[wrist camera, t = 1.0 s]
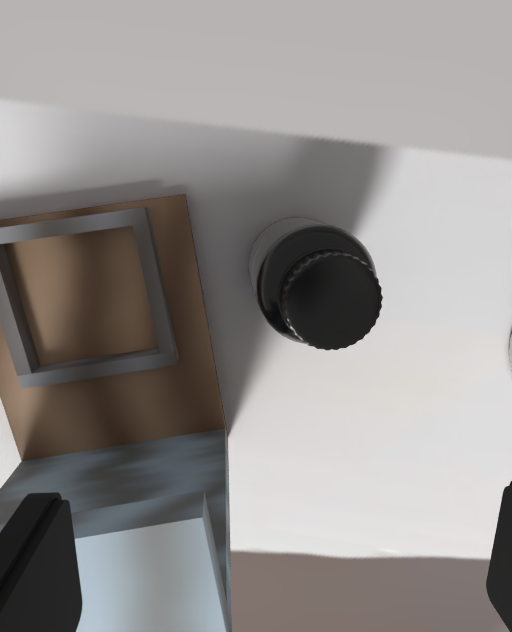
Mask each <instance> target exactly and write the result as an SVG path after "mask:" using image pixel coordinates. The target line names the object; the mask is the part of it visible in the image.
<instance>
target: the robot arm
mask: <svg viewBox="0 0 512 632" xmlns="http://www.w3.org/2000/svg"><path fill="white" fill-rule="evenodd" d="M509 359H510V367H511V370H512V335H511V338H510V347H509ZM486 586H487V587H486V588H487V593H488V596H489V599H490V601H491V603H492V604H493V606H494V608H495V609H496V611H497V612H498V614H499V615H500V617H501V618H502V620H503V621H504V623H505V625H506V626H507V628H508V629H509V631H510V632H512V481H511V482H510V485H509V486H507V487H506V488H505V489H504V491H503V496H502V502H501V507H500V512H499V518H498V523H497V528H496V533H495V539H494V544H493V549H492V555H491V560H490V566H489V571H488V576H487V581H486ZM81 613H82V593H81V585H80V577H79V570H78V562H77V554H76V546H75V539H74V531H73V523H72V515H71V508H70V502H69V501H68V500H62V497H61V495H60V493H58V492H50V493H30V494H28V495H27V496H26V497H25V498H24V499H23V501H22V502H21V503H20V505H19V506H18V508H17V509H16V511H15V512H14V513H13V515H12V516H11V518H10V519H9V520H8V522H7V523H6V525H5V526H4V528H3V529H2V530H1V532H0V632H76V630H77V627H78V624H79V621H80V618H81Z"/></svg>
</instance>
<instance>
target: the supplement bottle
mask: <svg viewBox="0 0 512 632" xmlns="http://www.w3.org/2000/svg"><path fill="white" fill-rule="evenodd" d="M249 273H250V278H251V282H252V285H253V288H254V292H255V295H256V298H257V301H258V304H259V307H260V309H261V311H262V313H263V315H264V317H265V318H266V320H267V321H268V323H269V324H270V325H271V326H272V327H273V328H274V329H275V330H276V331H277V332H278V333H280V334H281V335H283V336H284V337H286V338H288V339H290V340H293V341H295V342H299V343H303V344H308V345H309V346H315V347H316V348H317V349H325V350H330V349H334V350H338V349H339V348H346V347H348V346H349V345H353V344H355V343H356V342H357V341H358V340H361V339H363V338H364V336H365V335H366V334H368V333H369V332H370V330H371V328H372V327H373V326H374V325H375V323H376V320H377V318H378V317H379V311H380V309H381V308H382V304H381V301H382V298H383V297H382V295H381V287H380V285H379V281H378V278H377V276H376V270H375V266H374V263H373V260H372V258H371V256H370V254H369V252H368V251H367V249H366V248H365V246H364V245H363V244H362V243H361V242H360V241H359V240H358V239H357V238H355V237H354V236H353V235H351V234H350V233H348V232H346V231H344V230H342V229H340V228H337V227H334V226H331V225H328V224H324V223H321V222H317V221H314V220H310V219H306V218H287V219H283V220H280V221H278V222H276V223H274V224H272V225H270V226H269V227H268V228H266V229H265V230H264V231H263V232H262V233H261V234H260V235H259V237H258V238H257V239H256V241H255V243H254V245H253V247H252V250H251V253H250V257H249Z"/></svg>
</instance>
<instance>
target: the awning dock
mask: <svg viewBox="0 0 512 632" xmlns="http://www.w3.org/2000/svg"><path fill="white" fill-rule="evenodd" d="M0 397H1V400H2V403H3V406H4V409H5V412H6V415H7V418H8V421H9V424H10V427H11V430H12V433H13V436H14V439H15V442H16V445H17V448H18V451H19V454H20V457H21V460H22V462H21V463H20V464H19V466H18V467H17V468H16V469H15V471H14V472H13V473H12V475H11V476H10V477H9V478H8V480H7V481H6V482H5V484H4V485H3V486H2V487H1V489H0V532H1V530H2V529H3V528H4V526H5V525H6V523H7V522H8V520H9V519H10V518H11V516H12V515H13V513H14V512H15V511H16V509H17V508H18V506H19V505H20V503H21V502H22V501H23V499H24V498H25V497H26V496H27V495H28V494H30V493H50V492H58V493H60V495H61V497H62V500H68V501H69V502H70V508H71V515H72V523H73V531H74V539H75V546H76V554H77V562H78V570H79V577H80V585H81V593H82V613H81V618H80V621H79V624H78V627H77V630H76V632H232V618H231V568H230V567H231V565H230V515H229V465H228V436H227V430H226V424H225V418H224V413H223V407H222V401H221V395H220V390H219V384H218V378H217V373H216V367H215V361H214V355H213V350H212V344H211V338H210V333H209V327H208V321H207V315H206V310H205V304H204V298H203V293H202V287H201V281H200V275H199V270H198V264H197V258H196V253H195V247H194V241H193V235H192V230H191V224H190V218H189V212H188V207H187V201H186V195H185V194H183V195H176V196H169V197H161V198H154V199H147V200H140V201H133V202H126V203H119V204H111V205H104V206H97V207H90V208H83V209H76V210H69V211H61V212H54V213H47V214H40V215H33V216H26V217H19V218H12V219H4V220H0Z"/></svg>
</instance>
